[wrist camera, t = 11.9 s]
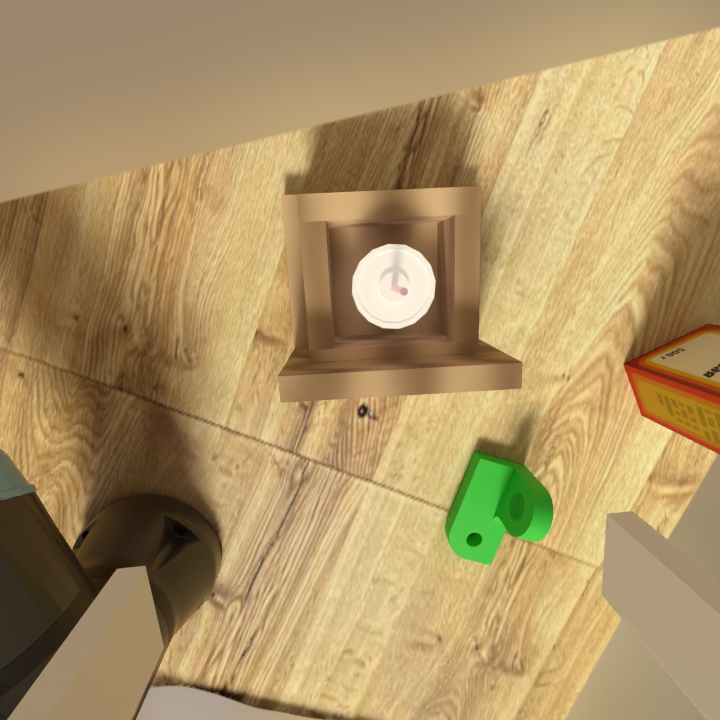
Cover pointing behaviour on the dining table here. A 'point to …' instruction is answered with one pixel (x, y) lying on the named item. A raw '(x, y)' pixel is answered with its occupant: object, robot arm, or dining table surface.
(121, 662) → the robot arm
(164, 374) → the dining table surface
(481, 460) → the mechanical part
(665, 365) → the baking soda box
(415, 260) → the beverage cup
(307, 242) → the wooden caddy with backboard
